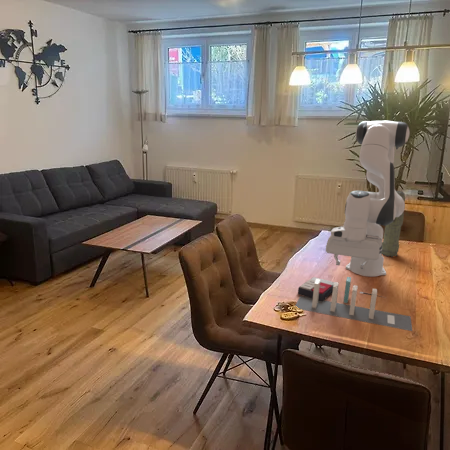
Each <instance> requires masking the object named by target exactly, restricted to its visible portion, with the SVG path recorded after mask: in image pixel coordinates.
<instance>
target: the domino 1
mask: <svg viewBox="0 0 450 450" xmlns="http://www.w3.org/2000/svg"><path fill="white" fill-rule="evenodd" d="M320 279H321V278H320ZM320 279H316V281H315V283H314V292H313V301H312V307H313V308H316V307H317V304H318V297H319V288H320Z"/></svg>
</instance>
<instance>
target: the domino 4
mask: <svg viewBox="0 0 450 450" xmlns="http://www.w3.org/2000/svg"><path fill="white" fill-rule="evenodd" d="M358 288H359V286H358V285H355V284H354V285H353V286H352V290H351V299H350V304H349V305H350V312H349V315H354V310H355V306H356V301H357V294H358Z"/></svg>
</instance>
